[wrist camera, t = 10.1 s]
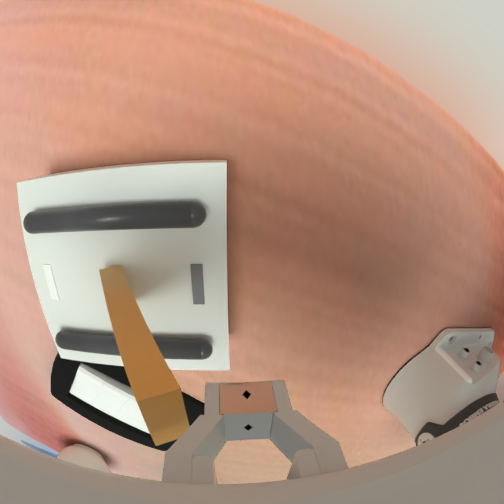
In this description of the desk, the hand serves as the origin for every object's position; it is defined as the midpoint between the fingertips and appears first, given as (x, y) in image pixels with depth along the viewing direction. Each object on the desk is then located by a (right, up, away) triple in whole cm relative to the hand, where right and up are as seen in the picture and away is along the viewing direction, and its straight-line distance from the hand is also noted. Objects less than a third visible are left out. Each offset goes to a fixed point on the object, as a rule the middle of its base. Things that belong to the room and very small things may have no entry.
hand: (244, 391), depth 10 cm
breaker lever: (-9, +3, +8) cm, 13 cm away
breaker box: (-10, +5, +13) cm, 17 cm away
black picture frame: (-16, -13, +20) cm, 28 cm away
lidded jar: (-30, -31, +25) cm, 49 cm away
